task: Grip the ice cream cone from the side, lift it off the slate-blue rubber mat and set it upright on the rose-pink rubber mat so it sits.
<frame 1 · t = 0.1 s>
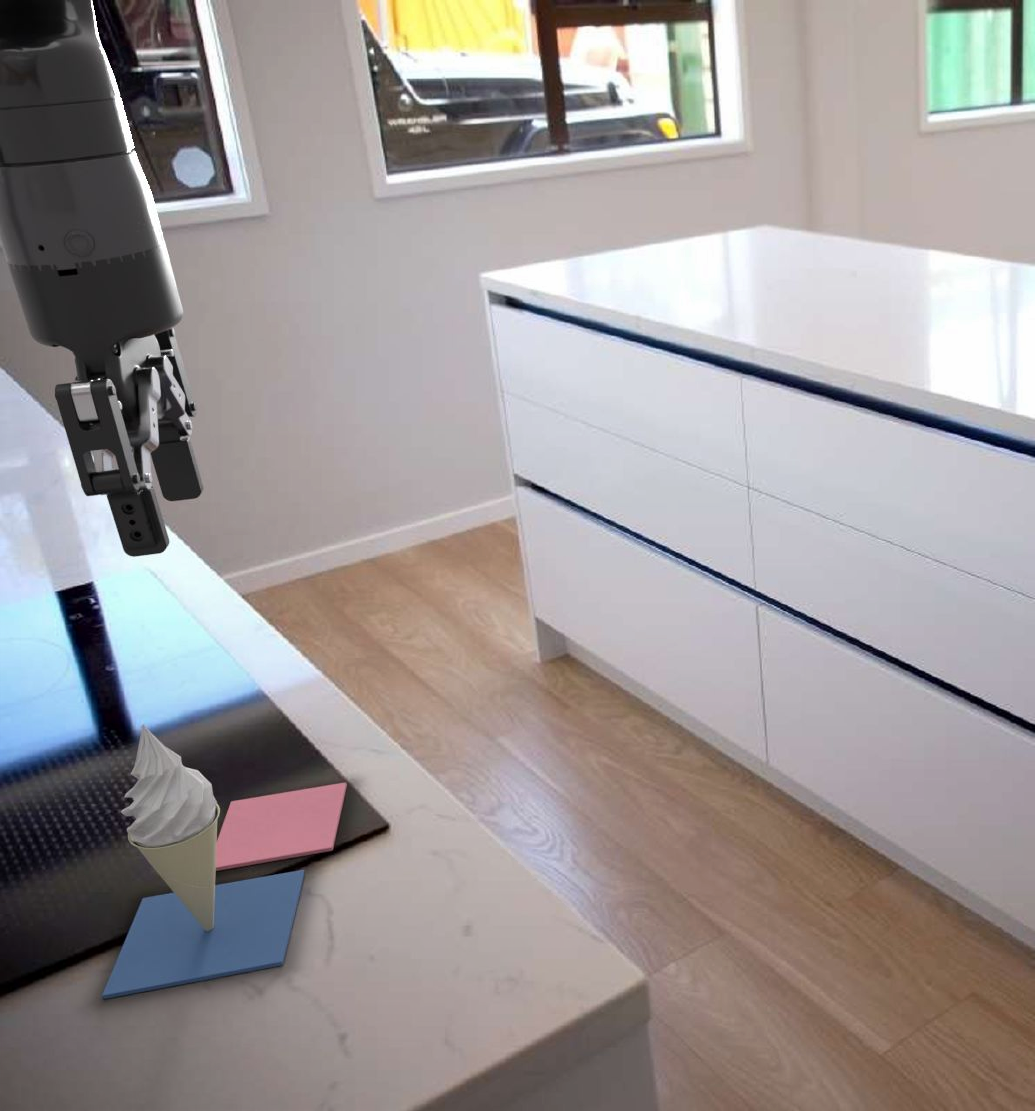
hand: (167, 524, 74), 25 cm above the worktop, tool pointing down, fingers open, 8 cm apart
rose mat: (280, 827, 89), on the worktop
ice cream cone: (210, 931, 79), resting on blue mat
blue mat: (210, 932, 79), on the worktop
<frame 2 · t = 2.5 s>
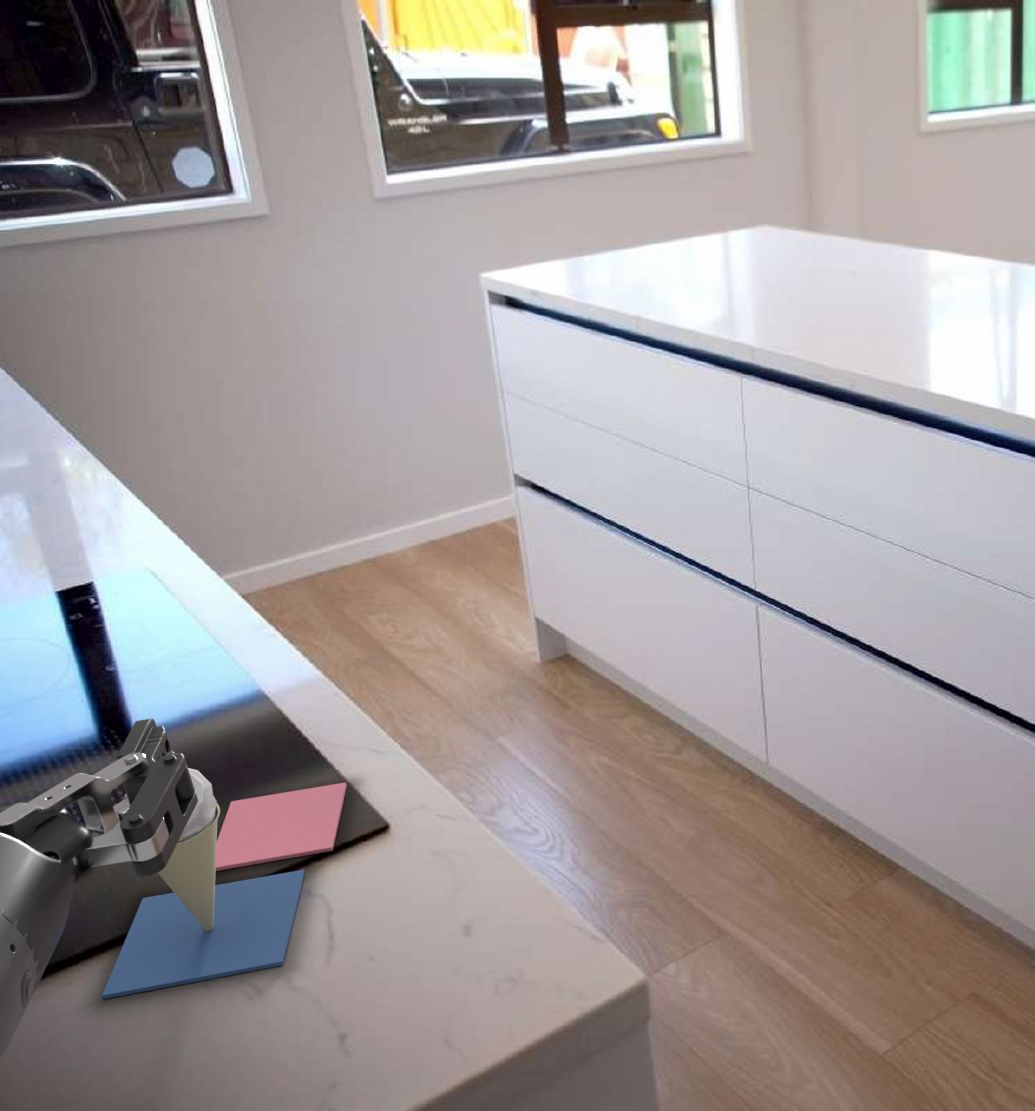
hand: (56, 750, 61), 20 cm above the worktop, tool horizontal, fingers open, 8 cm apart
nothing on the worktop moved.
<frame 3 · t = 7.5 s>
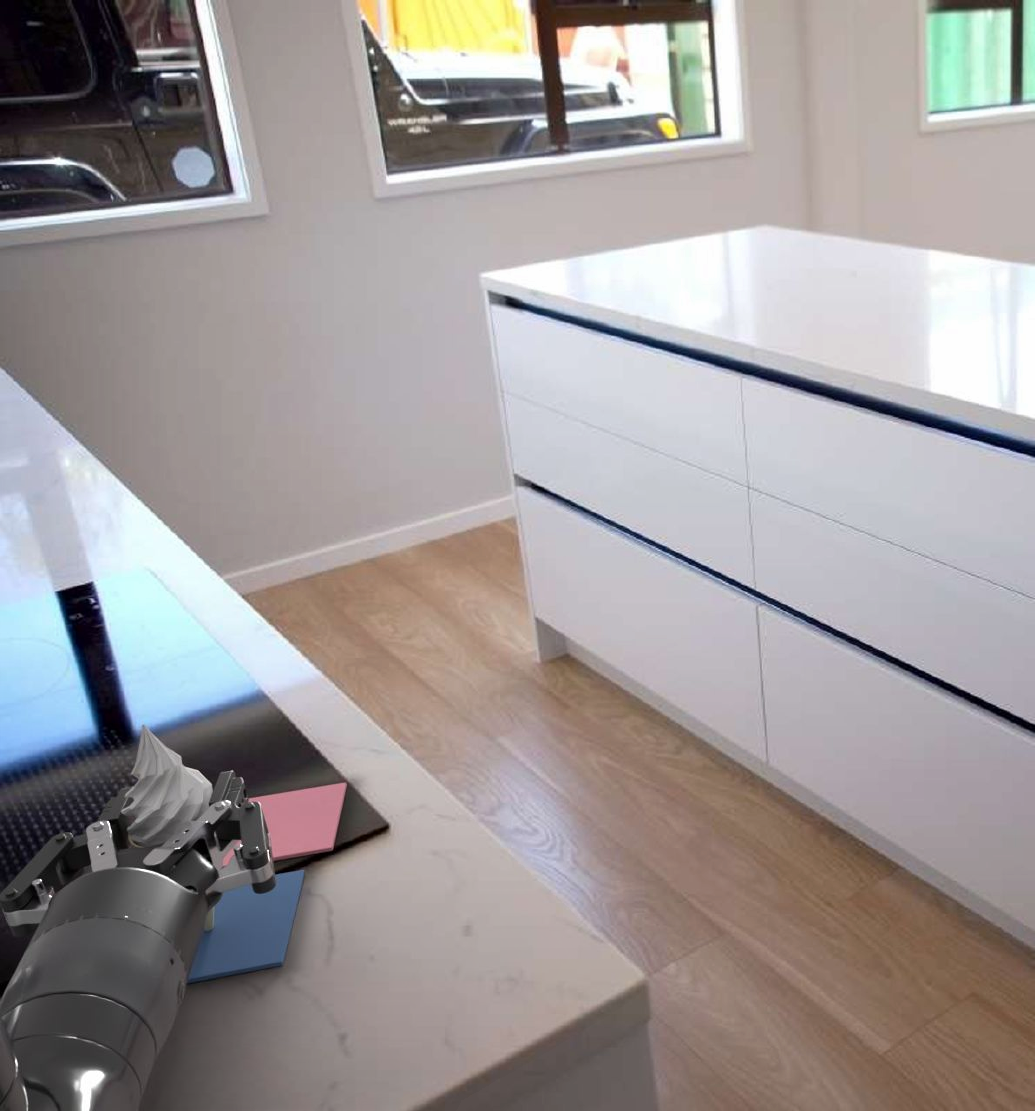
hand: (182, 792, 78), 9 cm above the worktop, tool horizontal, fingers closed on ice cream cone, 5 cm apart
ice cream cone: (210, 931, 79), resting on blue mat, touching gripper
when the fingers open (9 cm above the worktop, at t = 13.8 s): ice cream cone stays where it is, resting on rose mat.
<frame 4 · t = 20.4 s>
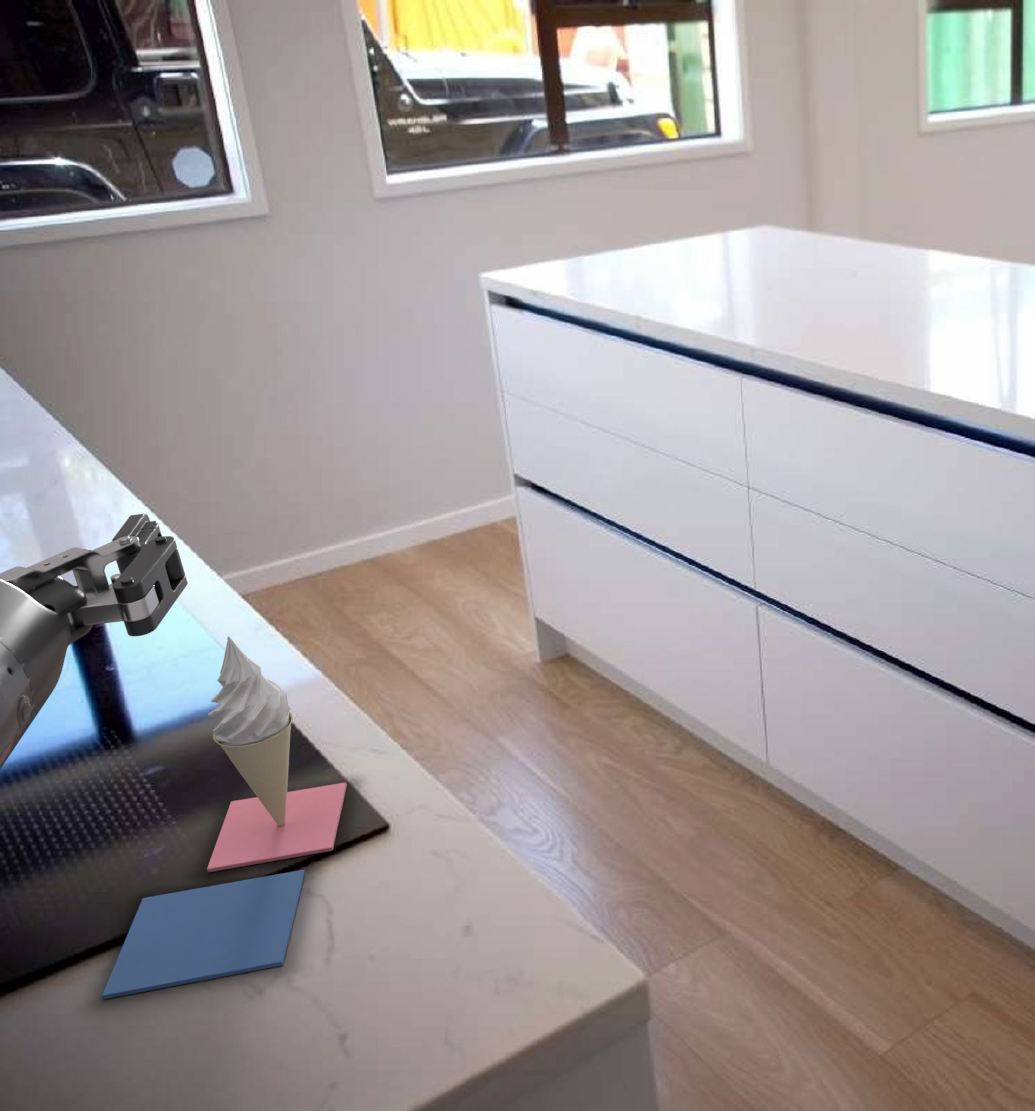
hand: (56, 542, 65), 28 cm above the worktop, tool horizontal, fingers open, 8 cm apart
ice cream cone: (282, 826, 89), resting on rose mat
at the end: ice cream cone inside the target area on the rose mat (0.1 cm from its centre), point 0.1 cm above the rose mat's base; ice cream cone tilted 0°; the gripper is holding nothing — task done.
